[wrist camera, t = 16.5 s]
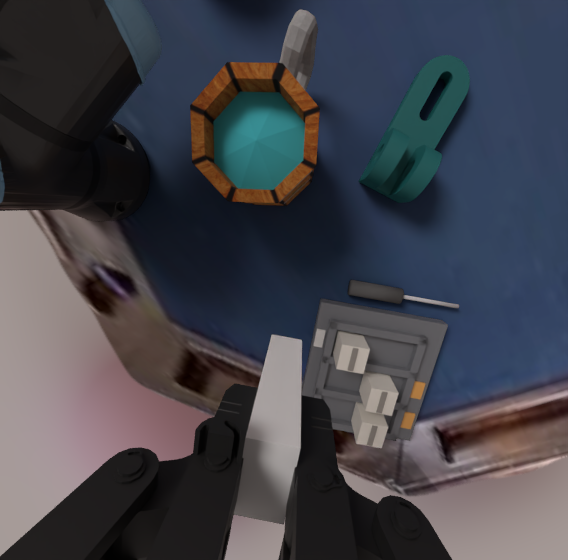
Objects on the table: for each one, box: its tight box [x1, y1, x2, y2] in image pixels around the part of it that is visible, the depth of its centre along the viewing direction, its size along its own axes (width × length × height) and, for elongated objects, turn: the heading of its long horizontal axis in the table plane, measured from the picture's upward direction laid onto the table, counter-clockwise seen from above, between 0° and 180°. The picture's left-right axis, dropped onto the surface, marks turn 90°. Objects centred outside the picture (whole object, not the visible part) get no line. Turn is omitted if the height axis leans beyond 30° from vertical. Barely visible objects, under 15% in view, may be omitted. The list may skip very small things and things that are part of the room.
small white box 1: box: [333, 330, 370, 374], centre depth 44 cm, size 4×4×5 cm
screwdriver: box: [348, 280, 459, 308], centre depth 45 cm, size 17×2×2 cm, turn 80°
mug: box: [190, 9, 320, 206], centre depth 34 cm, size 20×14×15 cm
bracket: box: [359, 55, 470, 203], centre depth 37 cm, size 18×7×8 cm, turn 153°
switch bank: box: [301, 298, 448, 441], centre depth 48 cm, size 20×22×3 cm
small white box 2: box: [351, 402, 388, 448], centre depth 46 cm, size 4×4×5 cm
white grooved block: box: [359, 370, 399, 416], centre depth 45 cm, size 4×4×5 cm
